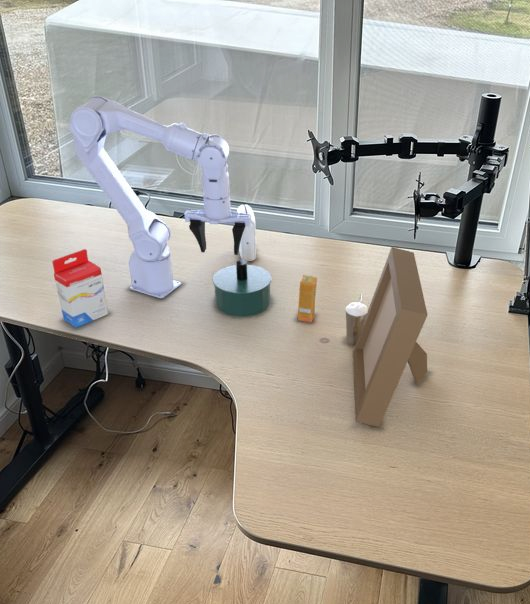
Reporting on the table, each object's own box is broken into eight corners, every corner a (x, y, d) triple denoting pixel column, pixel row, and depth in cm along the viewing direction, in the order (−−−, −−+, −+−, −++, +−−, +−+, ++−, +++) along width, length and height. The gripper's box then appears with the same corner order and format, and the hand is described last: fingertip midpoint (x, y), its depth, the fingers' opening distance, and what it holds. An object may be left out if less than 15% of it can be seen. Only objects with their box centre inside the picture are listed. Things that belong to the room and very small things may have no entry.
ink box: (75, 329, 141) (62, 268, 133) (63, 320, 144) (49, 260, 135) (109, 314, 147) (99, 255, 138) (97, 305, 149) (86, 247, 141)
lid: (206, 294, 144) (205, 274, 141) (220, 266, 155) (219, 247, 152) (266, 299, 143) (265, 279, 140) (275, 270, 154) (275, 251, 151)
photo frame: (355, 425, 118) (365, 307, 104) (352, 355, 136) (361, 245, 121) (437, 429, 118) (459, 310, 103) (424, 358, 136) (441, 248, 121)
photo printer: (257, 261, 169) (256, 216, 161) (240, 262, 168) (239, 217, 161) (253, 243, 177) (252, 200, 170) (237, 244, 176) (235, 200, 169)
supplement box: (312, 323, 145) (314, 283, 140) (297, 321, 146) (298, 281, 140) (315, 315, 148) (317, 276, 142) (300, 313, 149) (301, 274, 143)
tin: (210, 314, 147) (208, 291, 144) (222, 287, 157) (221, 265, 154) (264, 318, 146) (264, 296, 143) (273, 291, 156) (273, 269, 153)
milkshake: (368, 336, 142) (371, 296, 136) (361, 349, 138) (365, 308, 132) (348, 331, 143) (350, 292, 137) (341, 345, 139) (343, 304, 133)
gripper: (178, 200, 139) (184, 257, 147) (246, 204, 138) (248, 261, 146) (187, 187, 145) (192, 243, 153) (252, 191, 144) (253, 247, 152)
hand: (220, 251), depth 150 cm, fingers open, 7 cm apart
